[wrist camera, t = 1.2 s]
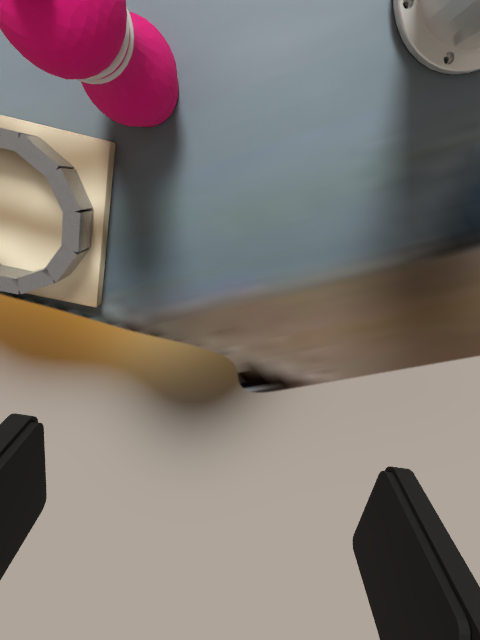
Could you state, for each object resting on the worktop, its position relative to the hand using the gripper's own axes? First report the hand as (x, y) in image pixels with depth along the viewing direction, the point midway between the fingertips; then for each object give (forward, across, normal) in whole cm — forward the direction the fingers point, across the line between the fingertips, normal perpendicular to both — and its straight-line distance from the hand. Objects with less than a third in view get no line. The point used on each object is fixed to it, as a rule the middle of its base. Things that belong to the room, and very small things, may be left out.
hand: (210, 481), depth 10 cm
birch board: (+29, +21, -1) cm, 36 cm away
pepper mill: (+30, +10, -14) cm, 34 cm away
